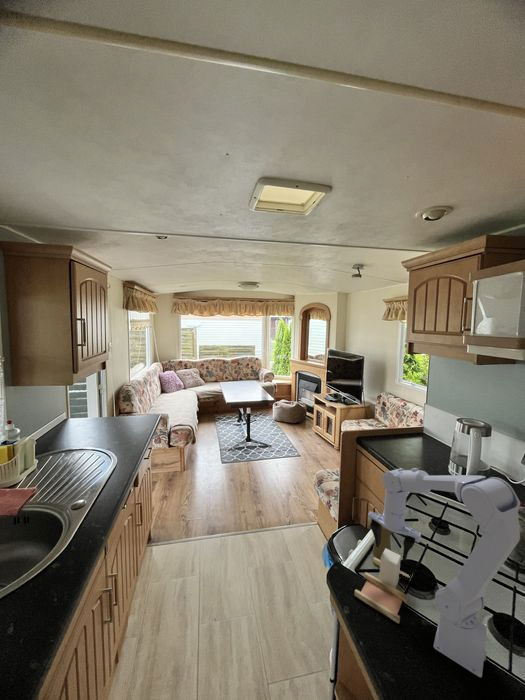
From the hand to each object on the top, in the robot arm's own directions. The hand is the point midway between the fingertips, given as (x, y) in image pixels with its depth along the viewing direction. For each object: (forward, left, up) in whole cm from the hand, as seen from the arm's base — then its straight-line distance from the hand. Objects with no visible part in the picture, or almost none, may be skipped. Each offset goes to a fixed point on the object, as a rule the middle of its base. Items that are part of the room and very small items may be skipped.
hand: (391, 551), depth 89 cm
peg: (0, 0, -9) cm, 9 cm away
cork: (+5, -9, -10) cm, 14 cm away
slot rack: (0, +4, -9) cm, 10 cm away
